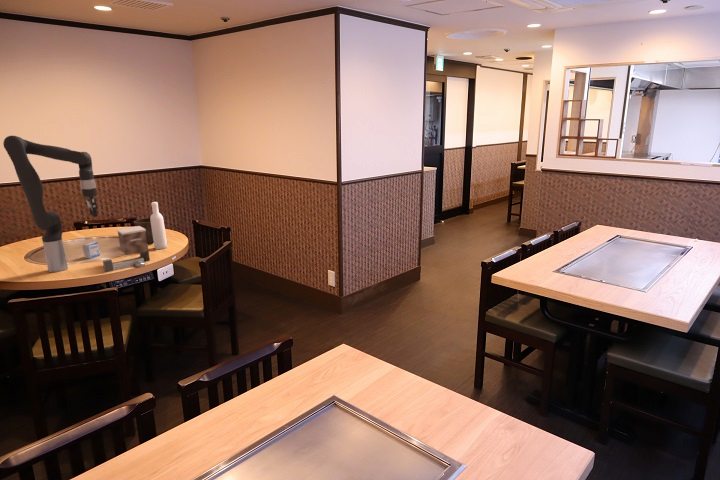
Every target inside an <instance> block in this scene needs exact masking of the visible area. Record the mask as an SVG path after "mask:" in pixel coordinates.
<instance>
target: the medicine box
mask: <svg viewBox="0 0 720 480" xmlns="http://www.w3.org/2000/svg"><path fill="white" fill-rule="evenodd" d="M82 250H83V254H84V259H93V258H96V257H99V256H101V252H100V247H99V243H98V241H91V242H87V243H86V244H83V245H82Z"/></svg>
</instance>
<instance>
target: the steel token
mask: <svg viewBox="0 0 720 480" xmlns="http://www.w3.org/2000/svg"><path fill="white" fill-rule="evenodd" d="M145 262H146V261H144V262H137V263H135V266H134V267H135V268H143V267H145V266H146V263H145Z"/></svg>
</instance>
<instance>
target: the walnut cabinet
mask: <svg viewBox="0 0 720 480" xmlns="http://www.w3.org/2000/svg"><path fill="white" fill-rule="evenodd" d="M145 231H146V229H144V228H143V227H141V226H135V225H134V226H130V227H123V228H117V229H116V232H117V235H118V242H119V246H120V247H119V248H120V251H121V252H122V253H123V254H124V255H126V256H129V255H134V254H138V253H139V256H140V258H144V262H150V261H151V259H150V253H149V246H148V245H149V244H148V245H147V238H146V232H145Z"/></svg>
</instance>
